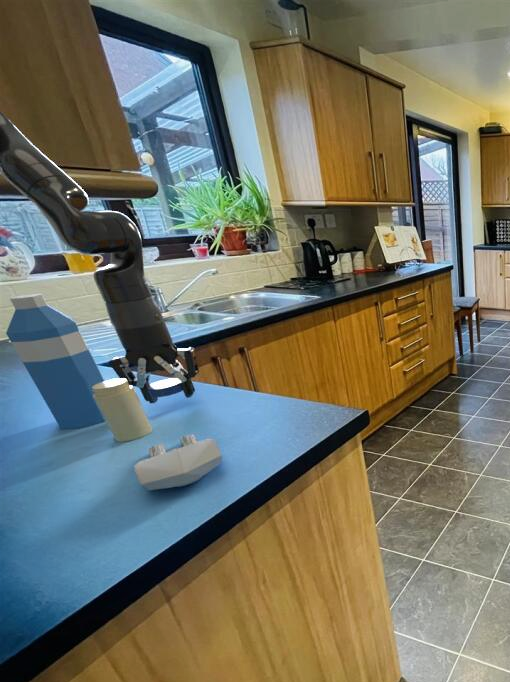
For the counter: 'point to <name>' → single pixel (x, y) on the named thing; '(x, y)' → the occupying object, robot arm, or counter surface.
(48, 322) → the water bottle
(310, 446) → the counter surface
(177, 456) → the white elongated knobbed piece
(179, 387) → the lid
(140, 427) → the jar
